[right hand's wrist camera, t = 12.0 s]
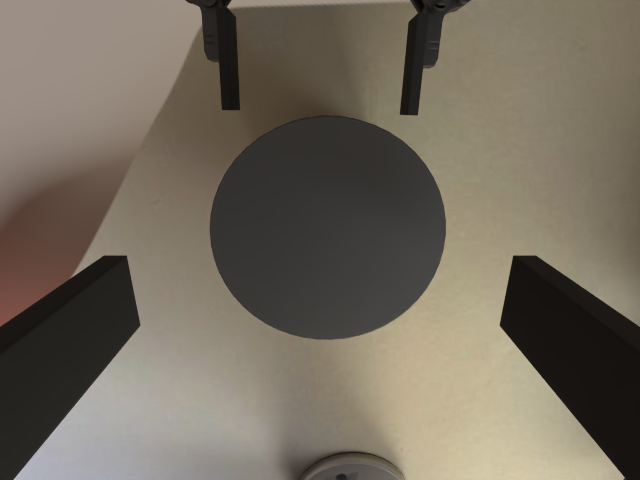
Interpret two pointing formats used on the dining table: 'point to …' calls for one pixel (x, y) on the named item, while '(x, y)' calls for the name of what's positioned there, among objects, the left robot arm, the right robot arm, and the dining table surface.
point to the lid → (327, 227)
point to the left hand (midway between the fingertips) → (320, 113)
